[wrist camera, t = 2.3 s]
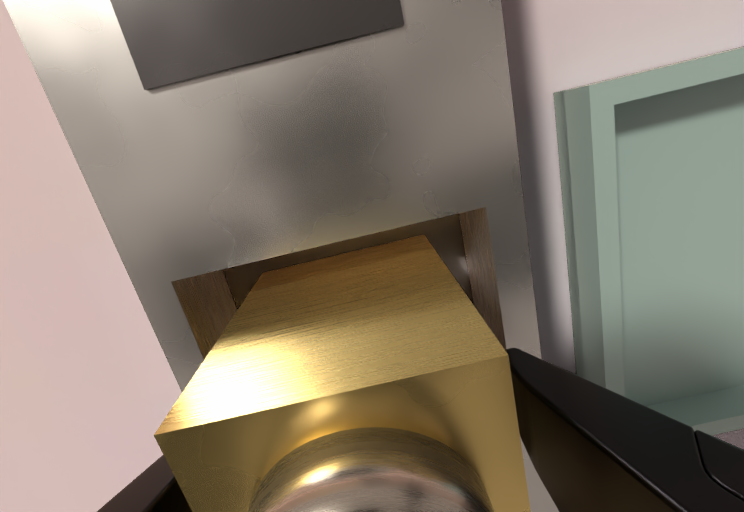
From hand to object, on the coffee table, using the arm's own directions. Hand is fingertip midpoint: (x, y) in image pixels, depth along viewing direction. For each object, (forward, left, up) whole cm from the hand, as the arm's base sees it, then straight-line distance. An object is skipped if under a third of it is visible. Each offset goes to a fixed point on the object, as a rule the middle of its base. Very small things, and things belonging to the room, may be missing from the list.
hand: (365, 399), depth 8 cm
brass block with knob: (0, 0, -3) cm, 3 cm away
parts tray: (-11, 0, -3) cm, 11 cm away
